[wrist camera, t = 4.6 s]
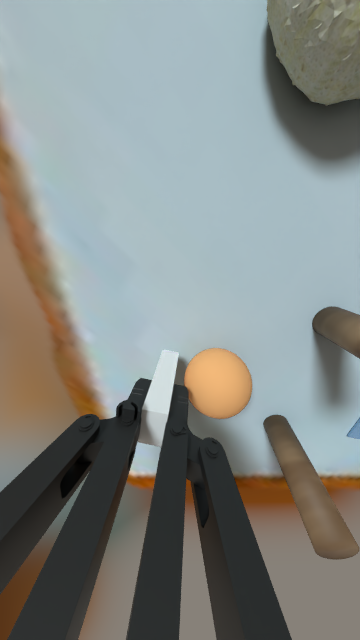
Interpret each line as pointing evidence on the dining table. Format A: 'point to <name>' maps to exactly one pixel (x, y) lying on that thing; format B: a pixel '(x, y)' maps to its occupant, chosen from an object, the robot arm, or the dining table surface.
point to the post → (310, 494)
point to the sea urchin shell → (319, 46)
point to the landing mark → (355, 431)
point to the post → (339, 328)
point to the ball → (218, 383)
